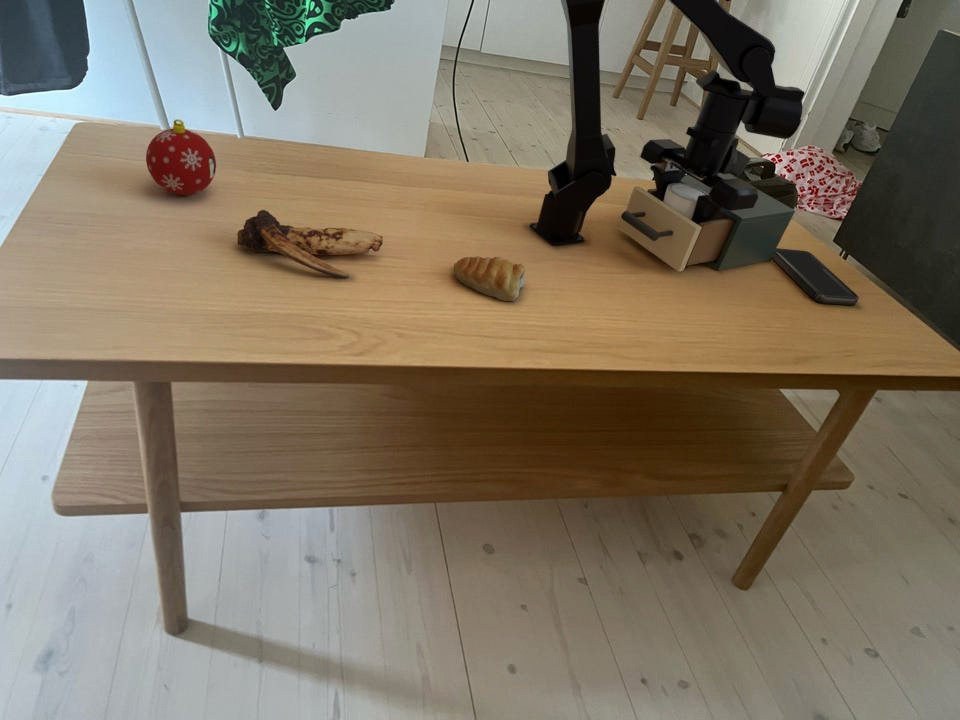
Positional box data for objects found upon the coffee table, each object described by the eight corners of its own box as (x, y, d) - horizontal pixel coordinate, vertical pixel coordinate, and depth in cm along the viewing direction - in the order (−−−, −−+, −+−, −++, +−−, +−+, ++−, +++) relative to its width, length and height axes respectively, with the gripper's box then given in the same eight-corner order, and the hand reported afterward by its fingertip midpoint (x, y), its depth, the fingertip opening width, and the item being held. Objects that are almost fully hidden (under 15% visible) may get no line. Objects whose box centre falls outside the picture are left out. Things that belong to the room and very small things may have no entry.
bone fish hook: (233, 276, 81) (385, 282, 85) (231, 242, 78) (388, 250, 82) (239, 235, 87) (379, 243, 92) (237, 202, 85) (382, 212, 89)
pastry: (446, 286, 87) (451, 260, 85) (458, 263, 93) (463, 238, 90) (516, 305, 87) (523, 280, 84) (524, 281, 92) (531, 256, 90)
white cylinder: (695, 248, 104) (713, 206, 99) (651, 236, 104) (668, 194, 100) (693, 230, 109) (710, 189, 105) (651, 219, 109) (666, 178, 105)
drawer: (657, 276, 99) (675, 231, 95) (598, 232, 107) (612, 189, 103) (731, 261, 108) (750, 219, 103) (671, 222, 116) (687, 181, 112)
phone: (820, 296, 103) (770, 247, 114) (816, 302, 104) (767, 253, 115) (862, 299, 105) (809, 251, 116) (859, 305, 106) (806, 256, 117)
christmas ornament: (172, 173, 97) (166, 102, 91) (228, 188, 97) (226, 119, 91) (135, 195, 90) (126, 120, 84) (196, 212, 90) (192, 138, 84)
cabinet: (718, 271, 106) (742, 218, 101) (653, 227, 115) (673, 176, 110) (770, 260, 113) (795, 210, 108) (706, 219, 122) (726, 171, 117)
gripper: (803, 150, 95) (754, 248, 104) (705, 102, 106) (669, 194, 115) (754, 153, 89) (707, 257, 98) (656, 102, 100) (622, 199, 110)
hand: (676, 224), depth 106 cm, fingers closed on white cylinder, 6 cm apart
